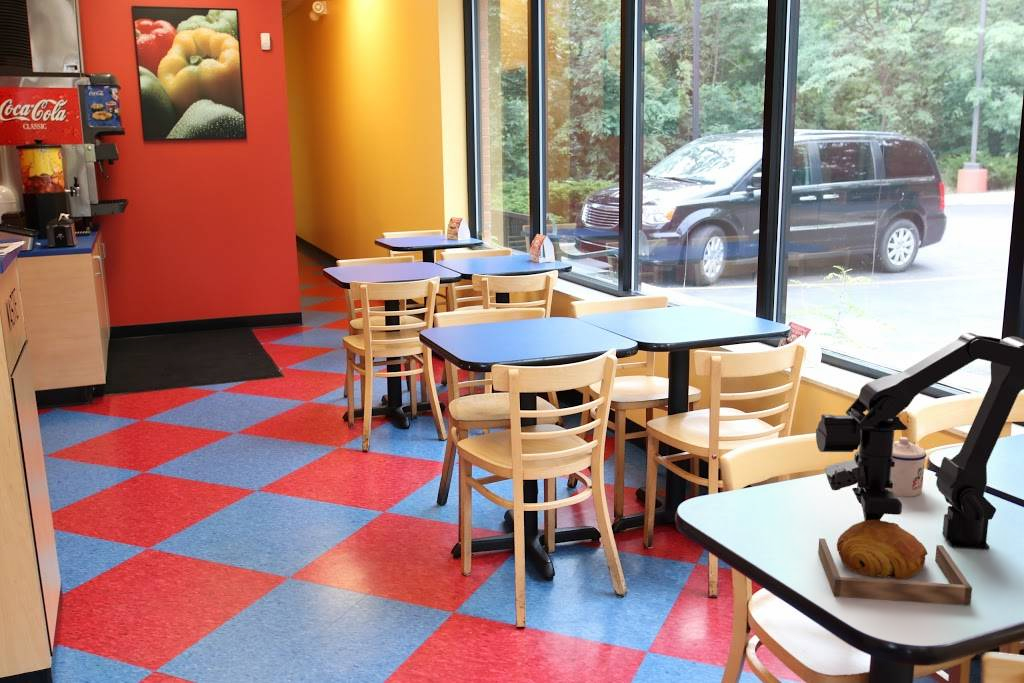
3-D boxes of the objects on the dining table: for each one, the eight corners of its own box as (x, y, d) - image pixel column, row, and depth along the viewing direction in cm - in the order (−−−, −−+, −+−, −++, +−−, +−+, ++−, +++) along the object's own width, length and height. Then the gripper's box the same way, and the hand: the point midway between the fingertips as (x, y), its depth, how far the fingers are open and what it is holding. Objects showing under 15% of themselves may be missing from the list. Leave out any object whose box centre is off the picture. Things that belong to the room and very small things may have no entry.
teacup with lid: (921, 500, 186) (926, 447, 184) (874, 493, 190) (878, 441, 188) (925, 481, 196) (929, 431, 194) (880, 475, 201) (884, 425, 198)
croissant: (823, 575, 159) (822, 535, 157) (862, 537, 169) (861, 499, 167) (905, 601, 149) (905, 558, 147) (941, 558, 159) (941, 518, 157)
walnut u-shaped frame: (941, 560, 159) (942, 545, 158) (970, 605, 144) (972, 588, 143) (818, 553, 162) (819, 538, 162) (833, 596, 147) (835, 579, 146)
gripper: (822, 433, 174) (817, 508, 177) (838, 466, 156) (832, 549, 159) (882, 435, 172) (876, 511, 175) (905, 470, 154) (898, 553, 157)
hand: (869, 530), depth 167 cm, fingers closed
